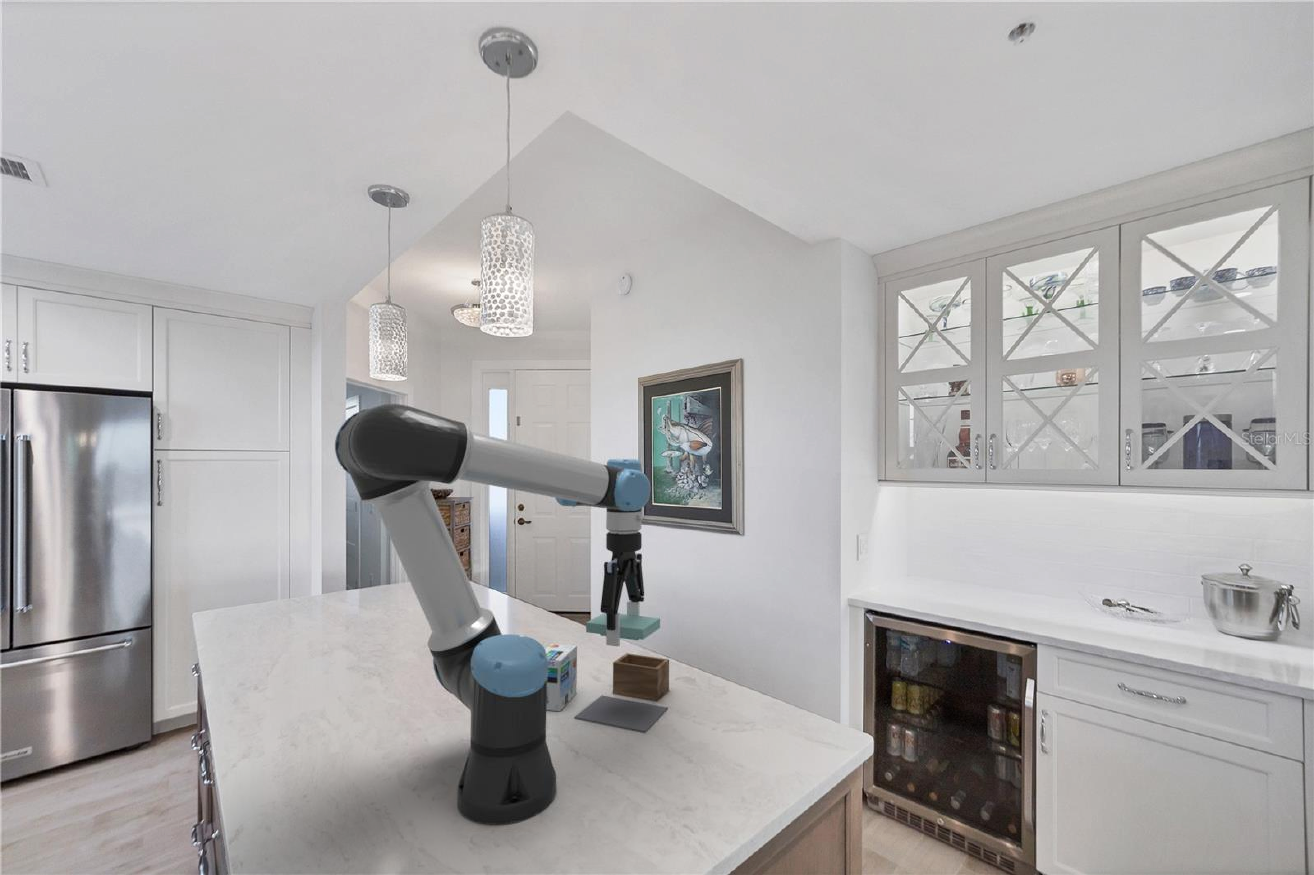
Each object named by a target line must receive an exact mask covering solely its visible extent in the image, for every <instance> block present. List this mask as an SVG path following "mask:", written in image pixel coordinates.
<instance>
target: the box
mask: <svg viewBox="0 0 1314 875" xmlns="http://www.w3.org/2000/svg"><path fill="white" fill-rule="evenodd" d="M669 691H670V659H667V658H660V657H655V656H654V657H653V656H648V655H641V654H632V653H625V654H623V655H622V656H620V657H619V658H617V659H616V660H614V661H613V662H612V694H613V695H618V696H625V697H628V698H629V697H630V698H635V699H641V700H646V701H651V702H652V701H653V702H656V703H657V702H659V701H660V700H661V699H662V698H663V697H664V696H665V695H666V694H667V693H668V692H669Z"/></svg>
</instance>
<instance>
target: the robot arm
mask: <svg viewBox="0 0 1314 875" xmlns="http://www.w3.org/2000/svg"><path fill="white" fill-rule="evenodd" d="M334 451H335V453H334V454H335V456H336V459H337V461H338V464H339V465H340V466H341V467H342V469H343V470H344V471H346V473H348V474H349V475H350V478H351V479H352V482H353V484H354V486H355V488H356V490H357V493H358V495H359V496H360V499H361V501H362V503H364V504H368V505H372V506H373V507H375V508H376V509H377V512H378V514H379V515H380V518H381V520H382V523H383V525H384V527H385V529H386V532H387V533H388V536H389V539H390V541H391V543H392V545H393V547H394V549H395V552H396V553H397V556H398V558H399V560H400V562H401V565H402V568H403V569H404V572H405V574H406V576H407V579H408V581H409V582H410V584H411V587H412V590H413V592H414V594H415V596H416V599H417V600H418V602H419V605H420V607H421V610H422V611H423V615H424V616H425V619H426V621H427V623H428V626H429V627H430V629H431V634H430V636H429V638H428V640H427V647H428V649H429V652H430V654H431V655H432V658H433V659H432V663H433V664H432V665H433V671H434V673H435V676H436V679H437V680H438V682H439V683H440V685H441V687H443V689H445V691H446V692H448V693H450V694H452V695H453V696H454V697H455V698H456V699H457V700H459V701H460V702H461V703H462V704H463V705H464V706H465V707H466V708H467V709H468V710H469V711H470V740H469V741H470V742H469V743H470V745H469V752H468V755H467V758H466V759H465V763H464V766H463V770H462V773H461V775H460V779H459V782H458V784H457V791H456V800H457V801H456V806H457V809H458V810H459V813H461V815H462V816H464V817H465V818H467V819H468V820H471V821H473V822H476V823H481V824H485V825H486V824H487V825H488V824H489V825H502V824H511V823H515V822H519V821H522V820H526V819H528V818H531V817H533V816H535V815H537V814H538V813H540V812H542V811H543V810H545V809H546V808H547V807H548V806H549V805H550V804H551V803H552V802H553V801H554V799H555V797H556V793H557V774H556V773H557V772H556V770H555V767H554V765H553V762H552V757H551V754H550V750H549V747H548V745H547V744H548V743H547V710H546V708H547V677H548V665H547V656H546V651H545V647H544V646H543V644H541V642H539V641H538V640H536V639H534V638H533V637H529V636H520V634H502V632H501V629H500V627H499V625H498V623H497V620H496V618H495V616H494V615H495V614H494V613H493V611H492V610H491V609H487V608H484V607H481V606H480V603H479V601H478V599H477V597H476V594H475V592H474V589H473V587H472V584H471V582H470V580H469V578H468V575H467V573H466V570H465V568H464V565H463V564H462V561H461V558H460V556H459V554H458V551H457V548H456V546H455V545H454V542H453V539H452V538H451V535H450V532H449V530H448V528H447V526H446V524H445V521H444V519H443V516H442V514H441V512H440V509H439V507H438V506H439V505H438V504H437V501H436V500H435V497H434V495H433V493H432V491H431V488H430V483H431V482H433V483H434V482H435V483H442V484H447V485H451V484H453V483H455V482H456V481H458V480H461V481H466V482H472V483H478V484H482V485H486V486H487V485H488V486H493V487H498V488H502V489H509V490H514V491H518V492H525V493H529V494H534V495H535V494H536V495H541V496H547V497H551V498H555V500H556V502H557V503H558V505H561V506H562V507H572V508H574V507H592V508H602V509H606V515H605V516H606V525H605V528H606V530H607V531H608V532H607V533H606V535H605V536H606V538H605V546H606V547H605V548H606V550H607V551H609V552H611V553H612V555H611V559H610V561H605V562H604V563H603V571H604V572H603V574H604V575H603V582H602V591H601V601H600V612H601V613H602V614H604V613H606V636H605V637H606V638H605V639H606V640H605V641H606V642H605V645H606V646H611V647H620V645H621V638H620V614H621V613H620V612H619V607H620V602H621V597H622V592H623V587H624V584H625V587H626V592H627V596H628V597H627V598H628V601H627V602H626V615H635V616H640V608H641V607H640V606H641V605H640V602H642V603H644V600H645V597H644V596H645V587H644V577H643V567H642V566H643V565H642V563H643V562H642V561H643V555H642V553H637V552H639V551H640V550H641V549H642V548H643V547H642V546H643V544H642V540H643V538H642V533H641V532H640V530H642V521H643V520H644V517H643V516H642V509H643V508H644V507H645V506H646V504H647V503H648V501H649V500H650V497H651V496H650V495H651V490H652V488H651V487H652V486H651V482H650V480H649V478H648V477H647V475H646V474H645V473H644V472H643V469H642V468H643V467H642V464H641V461H640V460H638V459H635V458H634V459H632V458H631V459H630V458H629V459H624V458H623V459H622V458H618V459H617V458H616V459H615V458H613V459H612V458H609V459H608V460H607V462H606V465H605V464H602V463H599V462H595V461H592V460H587V459H582V458H579V457H574V456H570V455H566V454H562V453H558V452H554V451H551V450H546V449H542V448H538V447H534V446H530V445H526V444H522V443H517V442H514V441H512V440H511V441H509V440H507V439H503V438H502V439H501V438H498V437H494V436H491V435H485V434H482V433H477V432H475V431H474V432H473V431H472V430H470V428H469V426H468V425H467V424H466V423H465V422H461V421H458V420H457V421H456V420H454V419H451V418H447V417H443V416H441V415H437V414H434V413H431V412H429V411H424V410H422V409H419V408H417V407H413V406H409V405H405V404H400V403H386V404H382V405H378V406H374V407H372V408H366V409H362V410H360V411H358V412H355V413H354V414H352V415H351V416H350V417H349V418H347V419H346V420H345V421H344V423H342V425H341V426H340V428H339V429H338V431H337V434H336V436H335V440H334Z"/></svg>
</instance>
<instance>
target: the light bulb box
mask: <svg viewBox="0 0 1314 875" xmlns="http://www.w3.org/2000/svg"><path fill="white" fill-rule="evenodd" d="M544 649H545V651H546V656H547V665H548V677H547V708H546V711H553V712H561V711H562V710H563V709H564V708H565V707H566V706H567V704H568V703H570V701H571V700H573V698H574V697H575V696H576V695H577V689H578V688H577V687H578V686H577V678H578V675H577V672H578V670H577V669H578V646H577V645H568V644H567V645H566V644H556V643H550V644H549V645H548V646H547V647H544Z"/></svg>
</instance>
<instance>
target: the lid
mask: <svg viewBox="0 0 1314 875" xmlns="http://www.w3.org/2000/svg"><path fill="white" fill-rule="evenodd" d="M660 628H661V618H659V617H650V616H641V615H639V616H635V615H627V613H626V614H625V613H624V614H623V613H620V639H624V640H632V641H639V640H645V639H647V638H648V637H649V636H651V635H652V634H654V632H656V631H658V630H659V629H660ZM585 632H586V633H589V634H596V635H597V634H599V635H600V636H602V637H606V613H602V614H600V615H598V616H597V617H594V618H592V619H590V620H588V621H586V624H585Z"/></svg>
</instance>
